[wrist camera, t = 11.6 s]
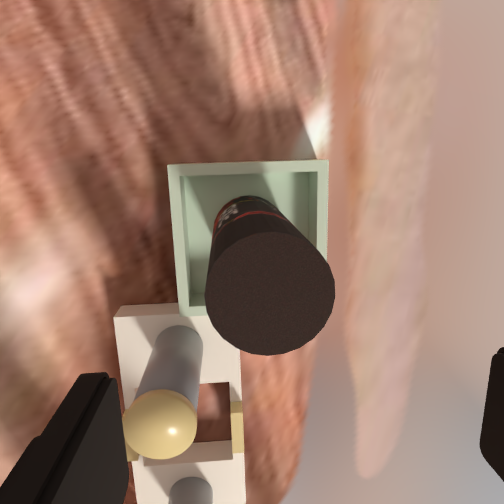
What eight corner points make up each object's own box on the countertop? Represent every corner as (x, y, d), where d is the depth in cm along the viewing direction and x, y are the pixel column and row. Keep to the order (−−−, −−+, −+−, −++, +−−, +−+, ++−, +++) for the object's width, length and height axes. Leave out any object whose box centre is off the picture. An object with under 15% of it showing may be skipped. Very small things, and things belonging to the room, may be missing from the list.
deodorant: (237, 181, 31) (249, 205, 16) (298, 219, 32) (360, 274, 17) (199, 243, 32) (179, 318, 17) (260, 278, 33) (289, 376, 18)
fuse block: (121, 305, 33) (64, 389, 21) (237, 299, 34) (244, 377, 22) (145, 501, 38) (109, 657, 27) (245, 493, 39) (254, 641, 27)
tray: (173, 163, 31) (167, 164, 27) (317, 159, 31) (328, 159, 28) (184, 300, 34) (179, 316, 30) (315, 293, 34) (325, 308, 31)
